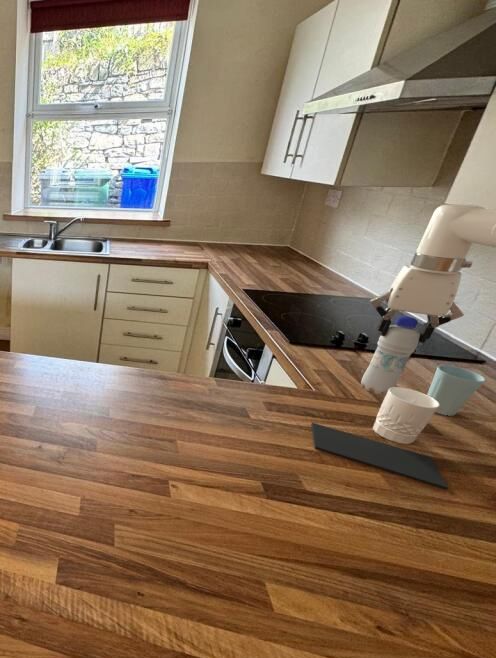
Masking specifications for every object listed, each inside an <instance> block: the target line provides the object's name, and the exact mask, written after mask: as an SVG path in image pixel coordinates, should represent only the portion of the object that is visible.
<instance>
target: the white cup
mask: <svg viewBox="0 0 496 658" xmlns="http://www.w3.org/2000/svg"><path fill="white" fill-rule="evenodd" d="M439 406H440V404H439V403H438V401H436V400H435V399H433V398H432V397H430V396H428V395H427V394H425V393H424V392H422V391H421V392H420V391H417V390H414V389H410V388H408V387H407V388H406V387H402V386H401V387H400V386H399V387H398V386H396V387H392V388H389V390H388V392H387V394H386V395H384V398H383V401H382V403H381V405H380V407H379V410H378V413H377V414H376V418H375V421H374V423H373V426H372V430H373V431H374V432H375V434H377V435H379V436H380V437H382V438H384V439H385V440H388V441H391V442H393V443H397V444H404V445H410V444H412V443H414V442H415V441H416V439H417V437H418V436H419V434H421V432H422V431H423V430H424V429H425V427H426V426H427V425H428V423H429V422H430V421H431V419H432V417H433V416H434V415H435V413H436V410H437V409H438V408H439Z"/></svg>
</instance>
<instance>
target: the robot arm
mask: <svg viewBox="0 0 496 658" xmlns="http://www.w3.org/2000/svg"><path fill="white" fill-rule="evenodd" d="M473 244H477V245H482V246H486V247H492V248H496V208H485V207H484V206H481V205H480V206H479V205H473V204H457V203H451V204H447V203H446V204H442V205H439V206H438V207H437V208H435V209H434V212H433V213H432V216H431V218H430V219H429V222H428V225H427V227H426V229H425V231H424V233H423V236H422V237H421V240H420V242H419V244H418V247H417V248H416V251H415V253H414V255H413V257H412V260H411V262H410V264H405V265H403V267H402V268H401V269H400V271H399V272H398V273H397V275H396V277H395V278H394V280H393V282H392V284H391V285H390V287H389V289H388V291H387V292H385V293H383V294H381V295H378V296H376V297H374V298H372V299H370V301H369V303H370V304H371V306H372V307H373V308H374V309H375V310H376V312H377V313H378V314H379V315H380V317H381V318H380V320H379V323H378V325H377V327H376V331H377V332H378V334H379V335H380V336H385V335H386V333H387V330H388V328H389V326H391V324H392V320H391V319H392V317H393V316H395V315H396V314H397V313H399V312H400V311H401V312H407V313H412V314H418V315H419V314H420V315H425V316H426V317H427V318H426V319H427V321H426V322H424V323H423V324H422V325H421V328H420V330H419V331H418V332H419V333H420V338H419V341H418V343H420V344H425V342H426V341H427V340H430V339H431V337H432V335H433V333H434V330H435V329H436V328H439V327H440V326H442V325H445V324H447V323H450V322H451V321H454V320H457V319H460V318H462V317H464V315H465V314H464V313H463V311H462V310H461V309H460V307H458V305H457V304H456V303H455V302H454V301H455V298H456V296H457V293H458V290H459V286H460V284H461V279H462V272H461V270H462V269H464V268H467V269H468V268H471V267H472V266H473V261H472V260H471V261H470V260H467V255H468V253H469V252H470V250H471V247H472V246H473ZM383 302H384V303H385V304H386V305H387V307H386V308H384V307H383V306H382V305H381V303H383ZM449 311H450V312H449Z"/></svg>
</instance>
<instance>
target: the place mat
mask: <svg viewBox="0 0 496 658" xmlns="http://www.w3.org/2000/svg"><path fill="white" fill-rule="evenodd" d="M310 426H311V431H312V439H313V446H314V449H315V450H318V451H322V452H325V453H329V454H331V455H335V456H338V457H341V458H344V459H348V460H351V461H354V462H357V463H360V464H363V465H367V466H369V467H373V468H376V469H379V470H383V471H386V472H389V473H392V474H396V475H399V476H401V477H405V478H409V479H411V480H415V481H417V482H420V483H425V484H428V485H431V486H434V487H437V488H439V489H444V490H446V491H447V490H448V489H449V487H448V484H447V483H446V481H445V479H444V477H443V475H442V473H441V471H440V469H439V468H438V465H437V464H436V461H435V460H434V458H433V457H432V456H429V455H427V454H423V453H420V452H416V451H412V450H410V449H406V448H405V449H404V448H402V447H399V446H395V445H392V444H388V443H384V442H381V441H377V440H374V439H371V438H367V437H364V436H360V435H357V434H353V433H350V432H347V431H343V430H339V429H336V428H332V427H329V426H325V425H321V424H319V423H315V422H311V425H310Z"/></svg>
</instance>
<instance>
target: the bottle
mask: <svg viewBox="0 0 496 658" xmlns="http://www.w3.org/2000/svg"><path fill="white" fill-rule="evenodd" d="M417 326H418V320H417V318H415V317H411V316H399V317H398V318H397V320H396V322H395V324H393V325H390V326H389V328H388V330H387V333H386V335H385V336H381V335H380V336H379V337H378V341H377V342H376V343H377V347H376V349H375V351H374V354H373V356H372V358H371V361H370V363H369V365H368V367H367V369H366V370H365V372H364V374H363V376H362V378H361V381H360V384H361V387H362V388H363V389H365V391H366V392H371V391H372V390H373V391H374V394H375V395H382V396H386V394H387V392H388V390H389V388H392V387H398V384H399V381H400V378H401V375H402V373H403V371H404V369H405V367H406V365H407V363H408V361H409V359H410V357H411V355H412V354H413V353H415V350H416V349H417V348H418V345H419V338H420V333H419V332H420V331H418V330H417V329H416V327H417Z"/></svg>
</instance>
